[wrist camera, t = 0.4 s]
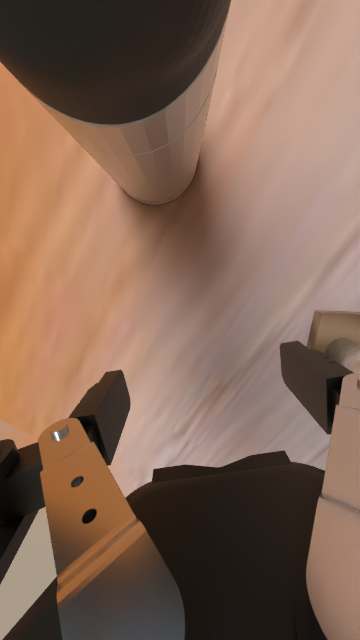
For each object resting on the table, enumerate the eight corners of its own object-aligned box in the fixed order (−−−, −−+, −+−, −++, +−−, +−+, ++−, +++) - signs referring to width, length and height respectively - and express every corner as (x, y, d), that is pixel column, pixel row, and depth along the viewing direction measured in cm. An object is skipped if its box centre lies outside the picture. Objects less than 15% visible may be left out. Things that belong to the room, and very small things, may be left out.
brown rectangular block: (314, 310, 29) (321, 313, 28) (369, 312, 29) (379, 315, 28) (299, 379, 32) (305, 385, 31) (349, 380, 32) (357, 387, 31)
